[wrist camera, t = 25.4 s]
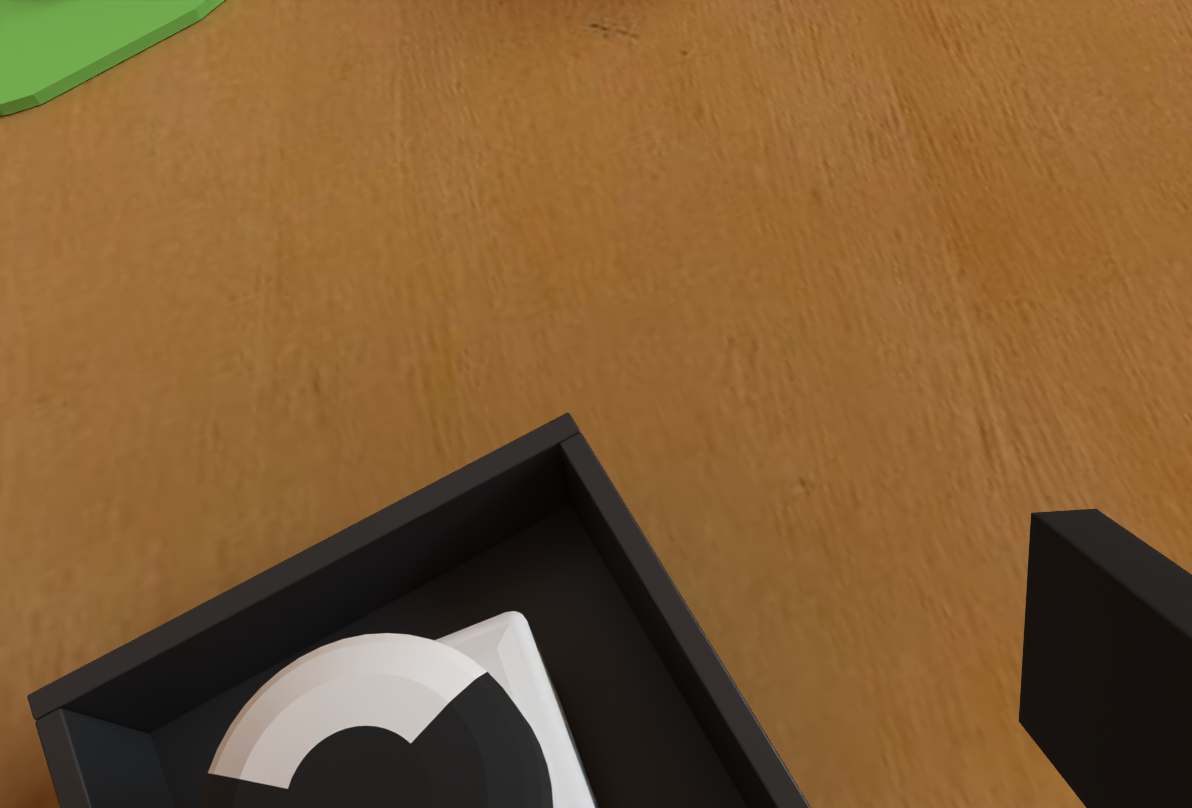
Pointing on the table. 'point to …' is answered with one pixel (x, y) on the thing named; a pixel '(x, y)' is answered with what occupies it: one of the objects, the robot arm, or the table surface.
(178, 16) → the wagon
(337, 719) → the medicine bottle
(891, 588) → the table surface
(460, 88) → the table surface
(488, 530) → the tote
